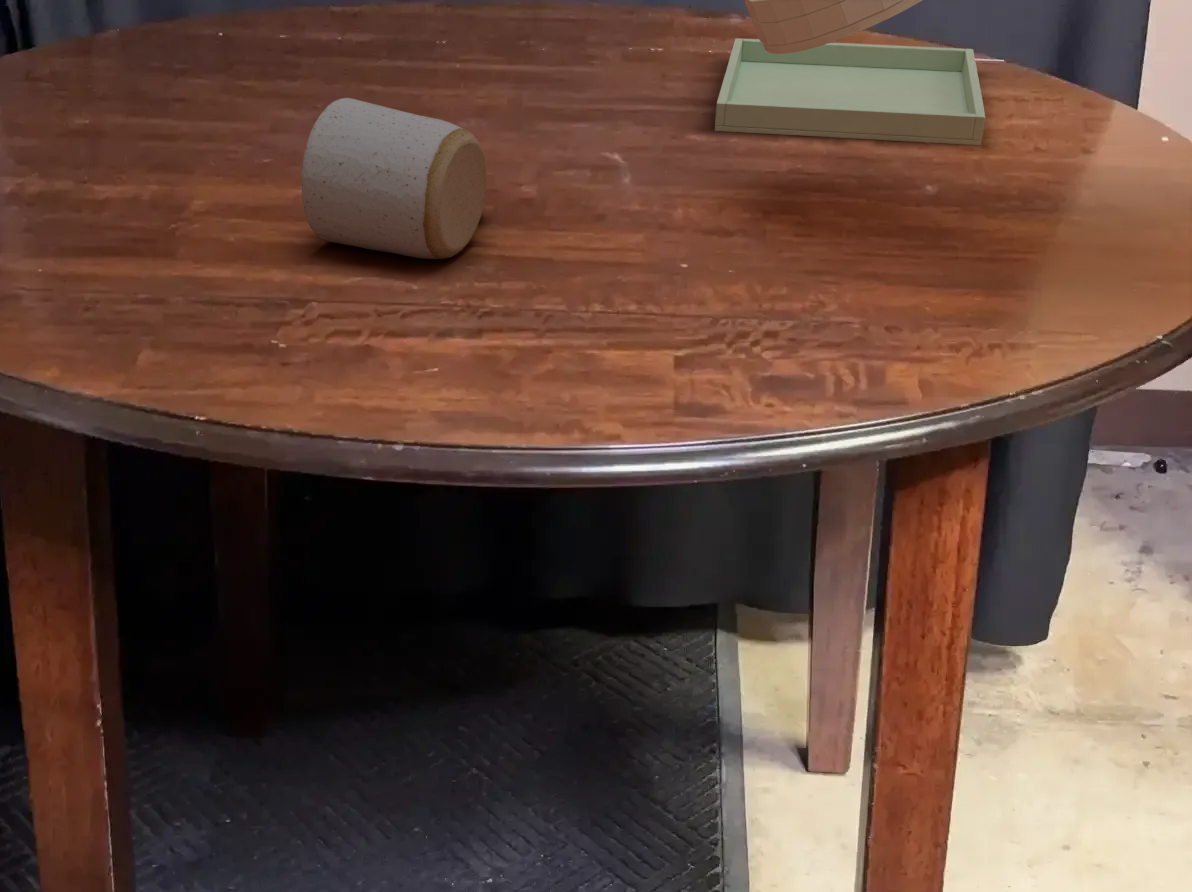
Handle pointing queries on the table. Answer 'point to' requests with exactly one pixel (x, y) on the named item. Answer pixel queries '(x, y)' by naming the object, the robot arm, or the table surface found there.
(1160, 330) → the table surface
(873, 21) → the bowl
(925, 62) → the tray
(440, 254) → the ceramic mug
